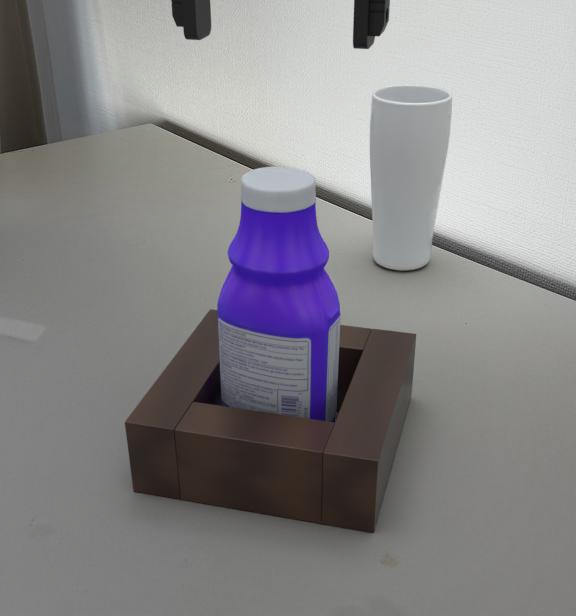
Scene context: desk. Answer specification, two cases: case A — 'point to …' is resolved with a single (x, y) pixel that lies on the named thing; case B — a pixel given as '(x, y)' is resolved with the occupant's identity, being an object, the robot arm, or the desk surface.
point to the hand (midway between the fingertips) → (279, 41)
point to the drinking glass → (407, 171)
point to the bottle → (279, 303)
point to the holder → (276, 435)
